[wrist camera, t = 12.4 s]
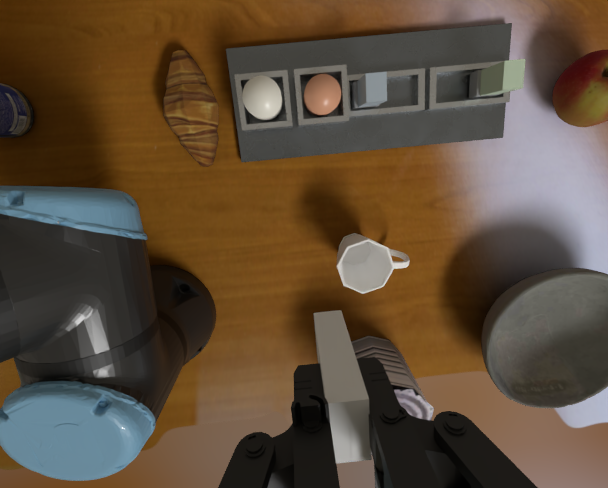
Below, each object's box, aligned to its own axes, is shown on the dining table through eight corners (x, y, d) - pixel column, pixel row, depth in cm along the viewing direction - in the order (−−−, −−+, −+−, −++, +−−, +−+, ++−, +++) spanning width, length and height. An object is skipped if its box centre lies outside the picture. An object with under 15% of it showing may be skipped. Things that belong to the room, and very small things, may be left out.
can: (404, 332, 52) (437, 385, 41) (402, 392, 55) (432, 457, 44) (332, 337, 52) (344, 393, 40) (334, 398, 55) (346, 464, 44)
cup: (330, 222, 47) (339, 238, 39) (401, 225, 47) (423, 241, 39) (327, 269, 49) (334, 293, 41) (394, 271, 49) (414, 295, 41)
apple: (602, 62, 42) (672, 43, 34) (584, 129, 44) (646, 126, 37) (545, 58, 42) (602, 39, 34) (529, 126, 44) (580, 123, 36)
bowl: (578, 369, 55) (625, 405, 48) (454, 379, 55) (481, 416, 47) (604, 248, 49) (661, 267, 42) (465, 257, 49) (497, 278, 41)
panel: (242, 161, 44) (236, 163, 39) (227, 51, 40) (218, 38, 35) (498, 137, 44) (523, 136, 39) (506, 26, 40) (535, 9, 36)
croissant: (154, 57, 40) (135, 45, 35) (209, 48, 40) (198, 35, 35) (183, 170, 44) (170, 173, 39) (234, 162, 44) (227, 163, 39)
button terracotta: (304, 118, 41) (306, 115, 37) (301, 83, 40) (303, 75, 36) (336, 115, 41) (342, 112, 37) (334, 80, 40) (340, 72, 36)
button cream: (250, 122, 39) (245, 119, 35) (245, 85, 38) (239, 77, 34) (284, 119, 39) (283, 115, 35) (280, 82, 38) (279, 73, 34)
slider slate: (352, 109, 41) (362, 102, 35) (351, 84, 40) (361, 73, 34) (376, 106, 41) (390, 100, 35) (375, 82, 40) (390, 71, 34)
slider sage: (468, 98, 41) (498, 90, 35) (469, 73, 41) (500, 61, 35) (492, 96, 41) (526, 87, 36) (494, 71, 41) (529, 58, 35)
